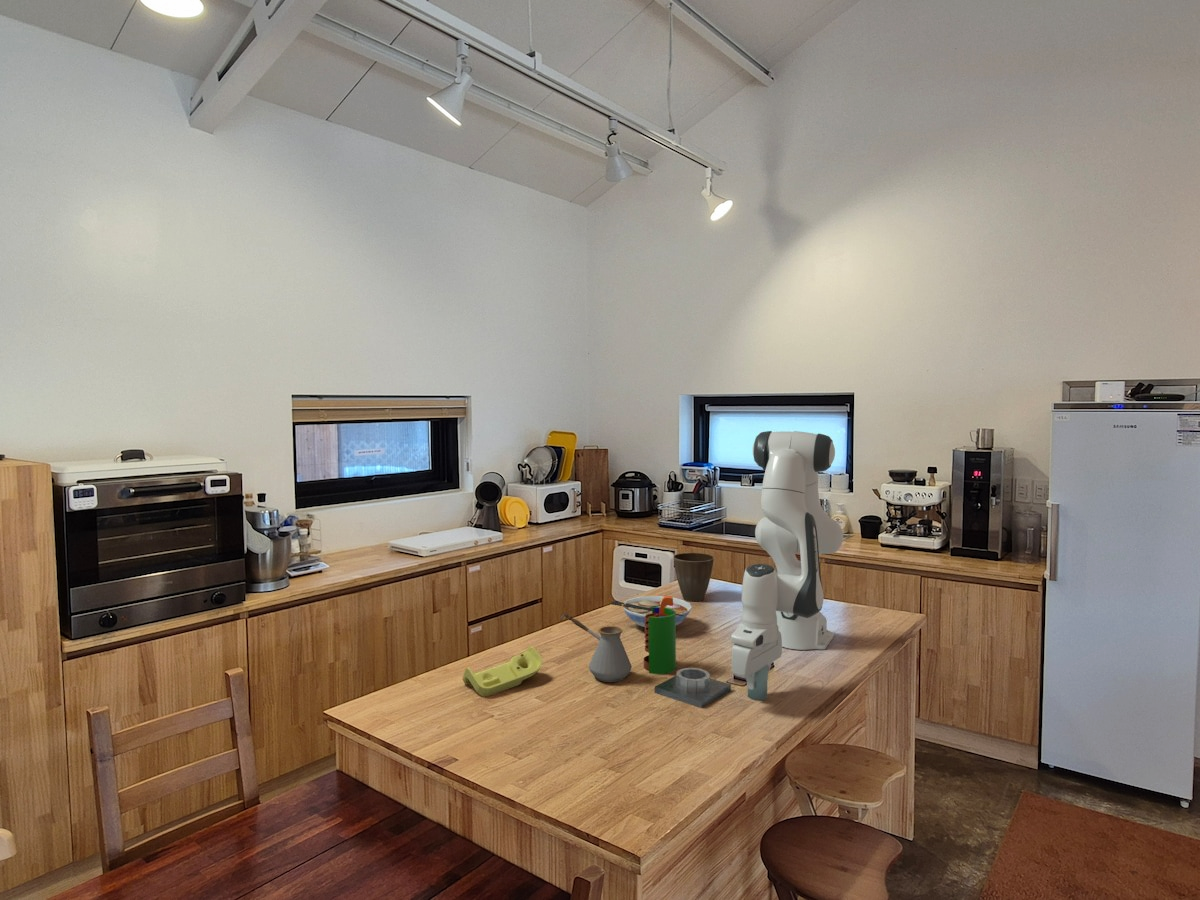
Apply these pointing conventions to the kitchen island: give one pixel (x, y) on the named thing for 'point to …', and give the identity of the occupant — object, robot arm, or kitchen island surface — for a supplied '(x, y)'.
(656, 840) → the kitchen island surface
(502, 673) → the plastic component
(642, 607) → the ramen bowl
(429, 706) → the kitchen island surface
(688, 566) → the plant pot
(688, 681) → the motor mount
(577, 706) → the kitchen island surface
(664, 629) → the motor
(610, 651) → the coffee pot
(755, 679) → the capped teal cylinder
